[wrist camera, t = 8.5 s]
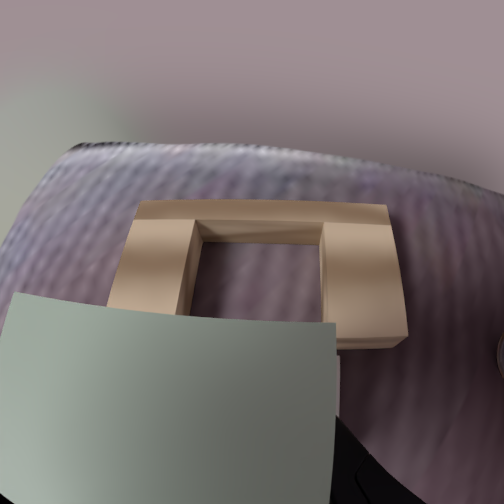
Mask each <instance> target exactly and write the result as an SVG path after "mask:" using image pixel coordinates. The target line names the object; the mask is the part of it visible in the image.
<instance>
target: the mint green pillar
mask: <svg viewBox="0 0 504 504" xmlns="http://www.w3.org/2000/svg"><path fill="white" fill-rule="evenodd" d="M336 380H337V348H336V323H322V322H279V321H256V320H237V319H221V318H207V317H194V316H183V315H172V314H162V313H152V312H143V311H134V310H126V309H118V308H110V307H103V306H96V305H89V304H82V303H75V302H69V301H63V300H57V299H51V298H45V297H40V296H34V295H29V294H24V293H19V292H14V294H13V297H12V300H11V303H10V306H9V310H8V313H7V316H6V319H5V323H4V326H3V330H2V333H1V337H0V493H1V494H2V495H3V496H5V497H6V498H7V499H9V500H10V501H11V502H13V503H14V504H329V499H330V490H331V480H332V468H333V455H334V439H335V419H336Z"/></svg>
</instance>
